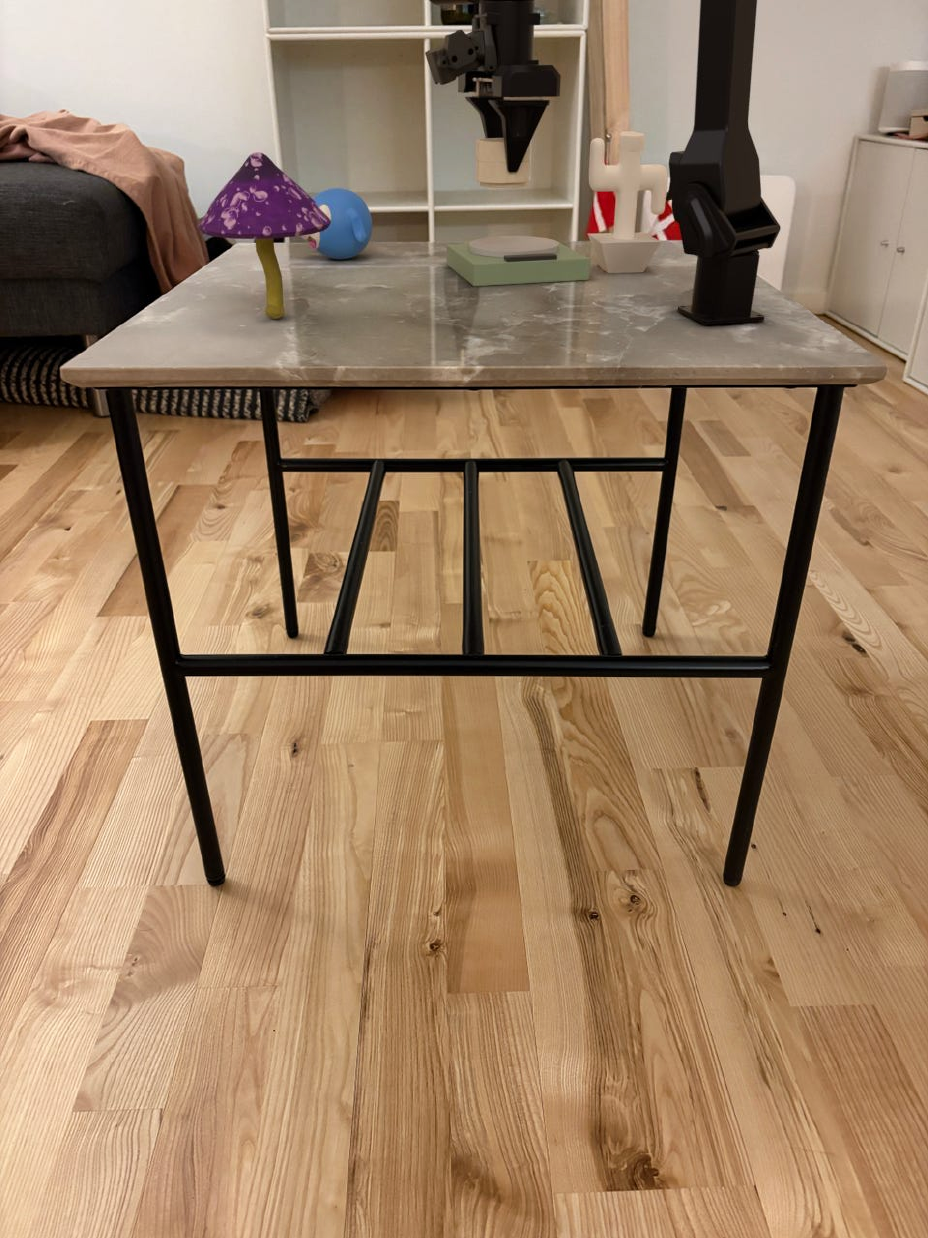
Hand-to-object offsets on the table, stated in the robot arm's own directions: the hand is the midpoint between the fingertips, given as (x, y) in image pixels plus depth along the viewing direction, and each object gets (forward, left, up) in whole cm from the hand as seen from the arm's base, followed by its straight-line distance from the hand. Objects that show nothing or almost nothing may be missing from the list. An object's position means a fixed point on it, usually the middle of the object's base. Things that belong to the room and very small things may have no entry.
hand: (504, 169), depth 103 cm
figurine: (+1, -15, -12) cm, 19 cm away
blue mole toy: (+17, +19, -12) cm, 28 cm away
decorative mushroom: (-14, +28, -12) cm, 33 cm away
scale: (+3, -2, -12) cm, 12 cm away
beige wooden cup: (0, 0, -2) cm, 2 cm away
